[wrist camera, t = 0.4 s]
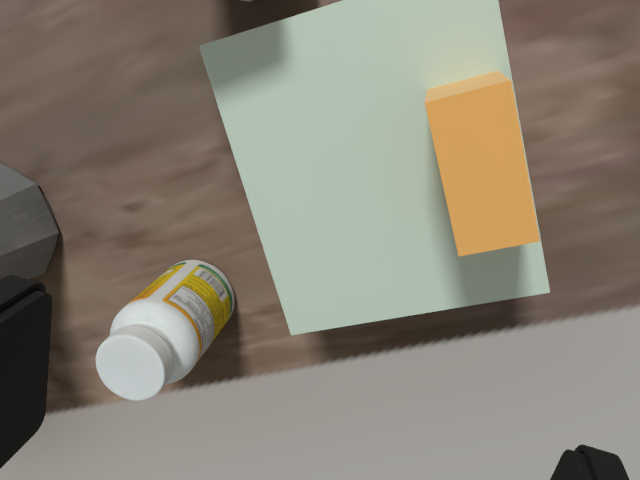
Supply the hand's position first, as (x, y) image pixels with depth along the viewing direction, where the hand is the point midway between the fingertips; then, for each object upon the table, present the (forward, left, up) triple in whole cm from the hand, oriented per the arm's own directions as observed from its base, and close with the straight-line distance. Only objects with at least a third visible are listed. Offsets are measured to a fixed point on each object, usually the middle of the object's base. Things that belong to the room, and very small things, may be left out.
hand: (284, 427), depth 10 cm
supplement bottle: (+15, +7, -26) cm, 31 cm away
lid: (0, 0, -19) cm, 19 cm away
